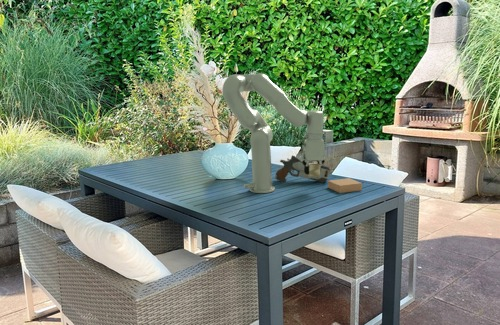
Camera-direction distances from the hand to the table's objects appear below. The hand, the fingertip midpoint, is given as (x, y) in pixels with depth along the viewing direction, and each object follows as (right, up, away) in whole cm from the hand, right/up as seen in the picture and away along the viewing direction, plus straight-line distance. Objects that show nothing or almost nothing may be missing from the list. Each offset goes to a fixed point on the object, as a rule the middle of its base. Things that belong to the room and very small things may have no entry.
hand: (312, 173), depth 208 cm
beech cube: (0, -1, 0) cm, 1 cm away
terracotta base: (+17, -8, +4) cm, 19 cm away
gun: (-2, -5, +23) cm, 24 cm away
